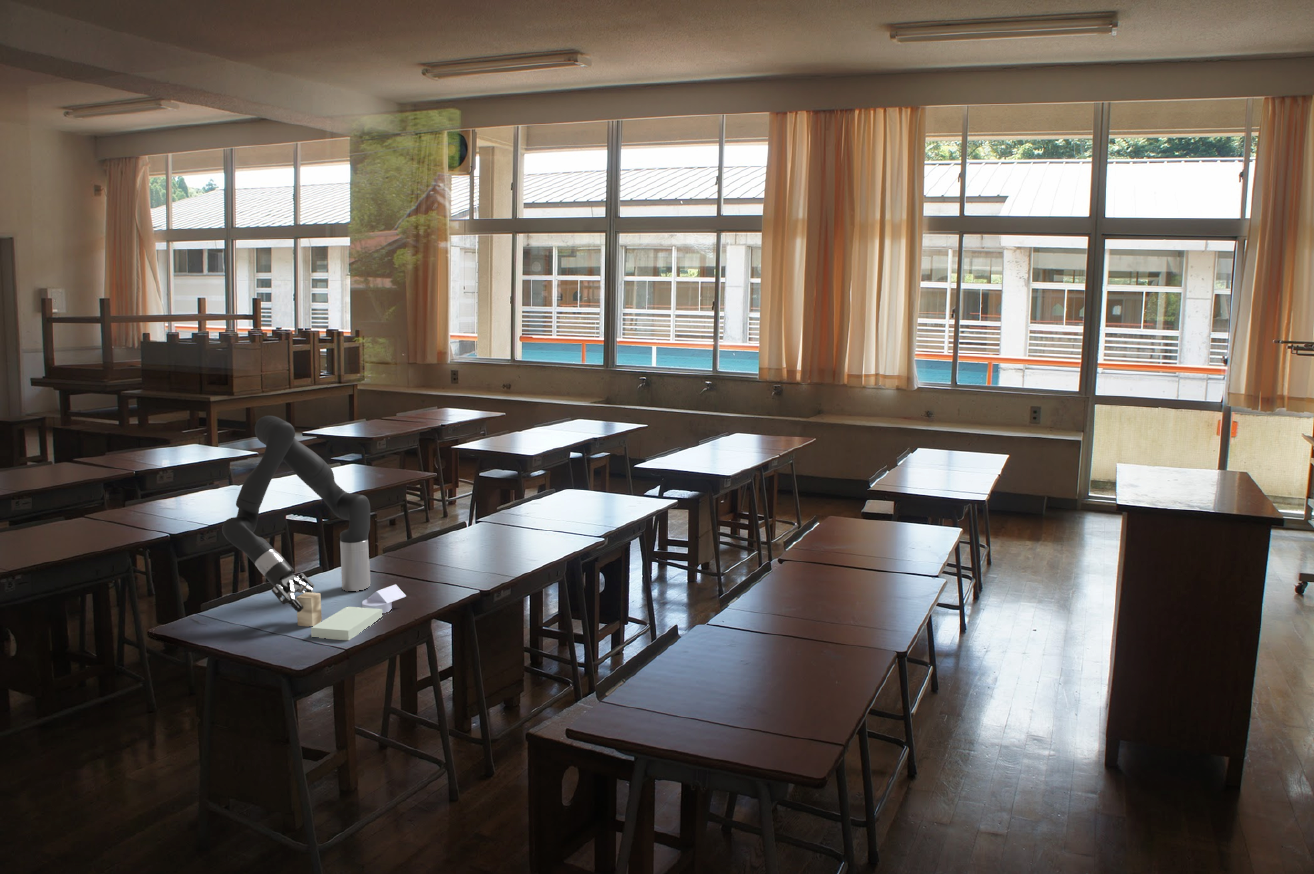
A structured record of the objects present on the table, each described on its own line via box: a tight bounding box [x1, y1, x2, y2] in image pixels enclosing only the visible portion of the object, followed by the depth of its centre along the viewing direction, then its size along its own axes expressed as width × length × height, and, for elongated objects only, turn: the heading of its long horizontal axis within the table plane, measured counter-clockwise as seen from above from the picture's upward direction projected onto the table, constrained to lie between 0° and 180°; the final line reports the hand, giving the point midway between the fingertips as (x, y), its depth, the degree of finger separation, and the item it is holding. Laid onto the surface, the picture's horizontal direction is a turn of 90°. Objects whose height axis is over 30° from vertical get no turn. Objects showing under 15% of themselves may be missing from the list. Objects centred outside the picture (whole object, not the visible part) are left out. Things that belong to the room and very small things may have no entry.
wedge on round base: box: [361, 583, 407, 613], centre depth 292 cm, size 9×7×13 cm
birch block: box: [295, 592, 323, 627], centre depth 278 cm, size 5×5×9 cm
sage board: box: [310, 606, 384, 641], centre depth 275 cm, size 20×12×3 cm, turn 169°
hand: (309, 605), depth 278 cm, fingers open, 8 cm apart
